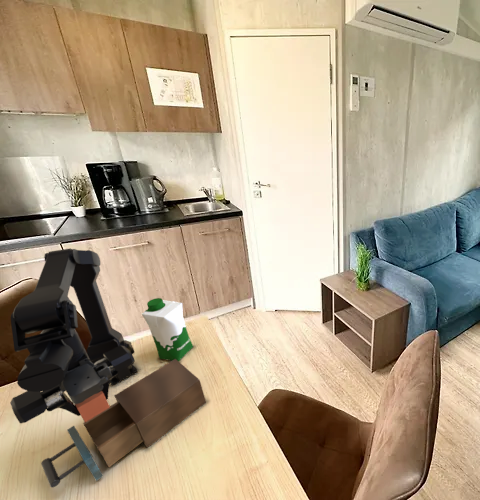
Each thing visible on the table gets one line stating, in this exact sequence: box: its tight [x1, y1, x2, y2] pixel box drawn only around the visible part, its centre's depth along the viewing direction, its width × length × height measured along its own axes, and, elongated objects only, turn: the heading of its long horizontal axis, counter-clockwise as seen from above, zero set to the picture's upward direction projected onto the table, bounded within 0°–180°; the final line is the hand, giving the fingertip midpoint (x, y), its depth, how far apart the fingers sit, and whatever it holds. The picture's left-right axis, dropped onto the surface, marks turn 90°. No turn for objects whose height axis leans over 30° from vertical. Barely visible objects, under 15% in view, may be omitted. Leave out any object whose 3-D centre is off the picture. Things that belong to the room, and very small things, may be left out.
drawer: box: [40, 401, 143, 488], centre depth 64 cm, size 19×11×7 cm, turn 145°
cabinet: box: [113, 359, 207, 448], centre depth 74 cm, size 15×13×9 cm
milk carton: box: [141, 297, 194, 362], centre depth 90 cm, size 9×9×20 cm
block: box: [74, 391, 111, 423], centre depth 64 cm, size 4×4×4 cm
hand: (92, 406), depth 64 cm, fingers closed on block, 4 cm apart
